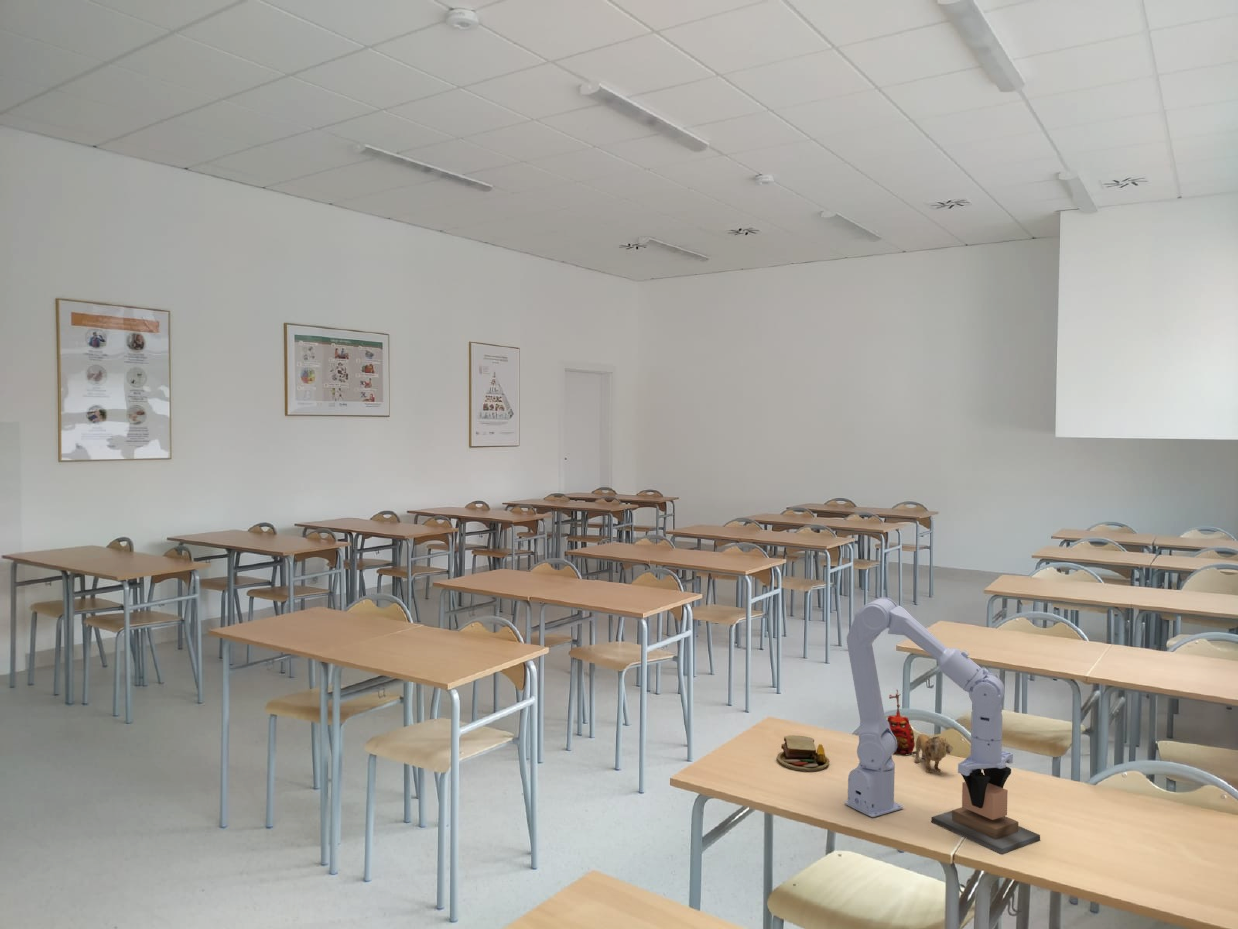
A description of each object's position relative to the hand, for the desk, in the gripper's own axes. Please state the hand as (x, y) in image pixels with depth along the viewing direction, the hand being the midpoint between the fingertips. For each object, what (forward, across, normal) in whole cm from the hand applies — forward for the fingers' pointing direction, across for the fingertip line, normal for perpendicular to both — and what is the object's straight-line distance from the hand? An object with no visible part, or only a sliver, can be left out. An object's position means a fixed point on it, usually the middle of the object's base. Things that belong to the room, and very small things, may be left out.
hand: (985, 804), depth 170 cm
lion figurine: (+6, +19, +29) cm, 35 cm away
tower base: (+5, 0, 0) cm, 5 cm away
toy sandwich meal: (+6, -6, +46) cm, 47 cm away
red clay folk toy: (+6, +21, +40) cm, 46 cm away
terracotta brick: (+2, 0, 0) cm, 2 cm away
